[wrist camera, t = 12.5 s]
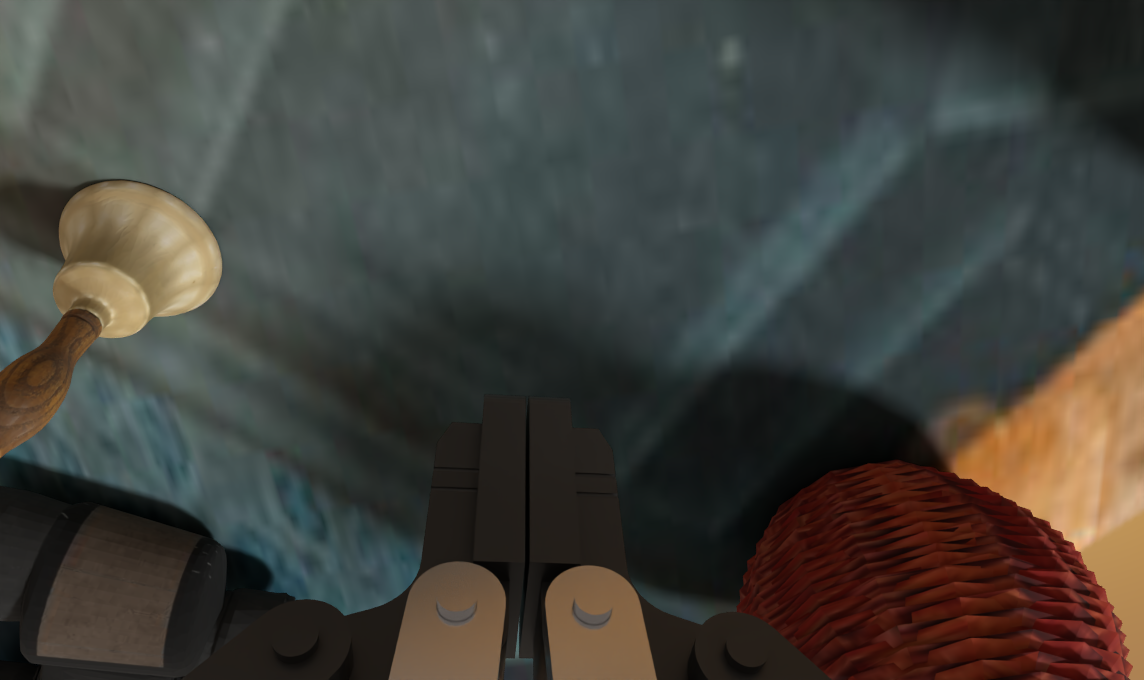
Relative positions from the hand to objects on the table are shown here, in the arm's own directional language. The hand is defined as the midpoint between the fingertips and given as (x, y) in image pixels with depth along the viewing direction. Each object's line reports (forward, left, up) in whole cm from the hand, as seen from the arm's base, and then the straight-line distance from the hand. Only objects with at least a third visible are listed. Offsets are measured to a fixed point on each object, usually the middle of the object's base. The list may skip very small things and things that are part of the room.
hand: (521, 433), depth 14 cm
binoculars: (+27, +46, -29) cm, 60 cm away
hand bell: (+20, +14, -29) cm, 38 cm away
